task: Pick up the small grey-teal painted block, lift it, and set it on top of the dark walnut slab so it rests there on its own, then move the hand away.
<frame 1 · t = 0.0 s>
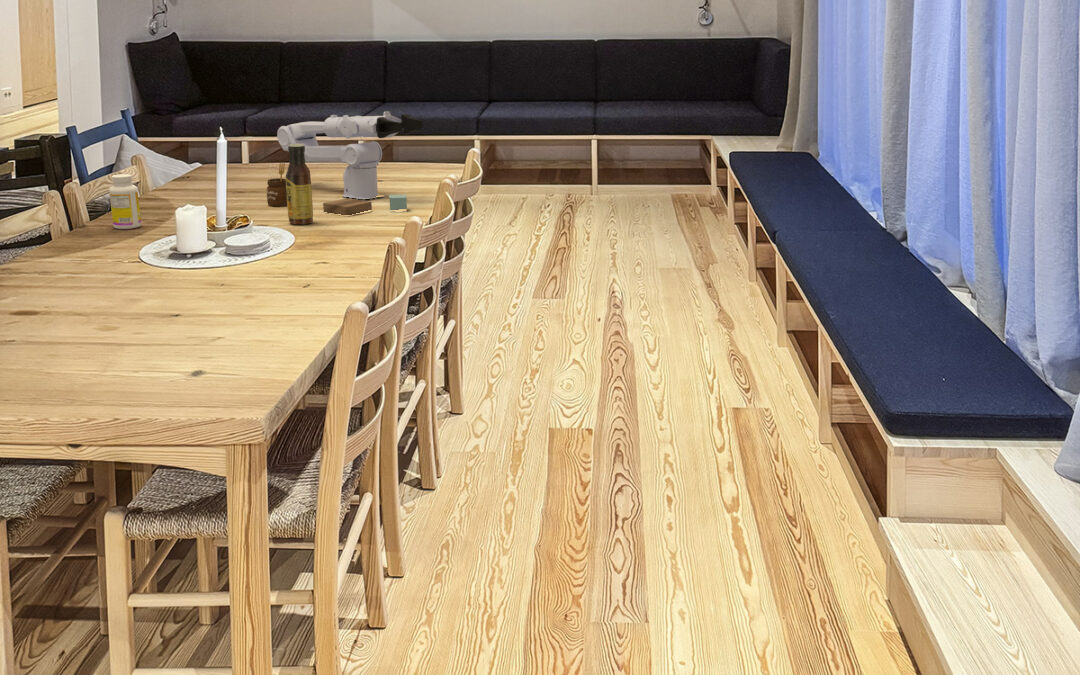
hand: (411, 125, 300), 22 cm above the table, tool horizontal, fingers open, 7 cm apart
teal block: (398, 211, 299), on the table
supplement bottle: (127, 227, 276), on the table
sauce bottle: (301, 224, 282), on the table
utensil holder: (278, 205, 305), on the table
walnut slab: (347, 213, 296), on the table
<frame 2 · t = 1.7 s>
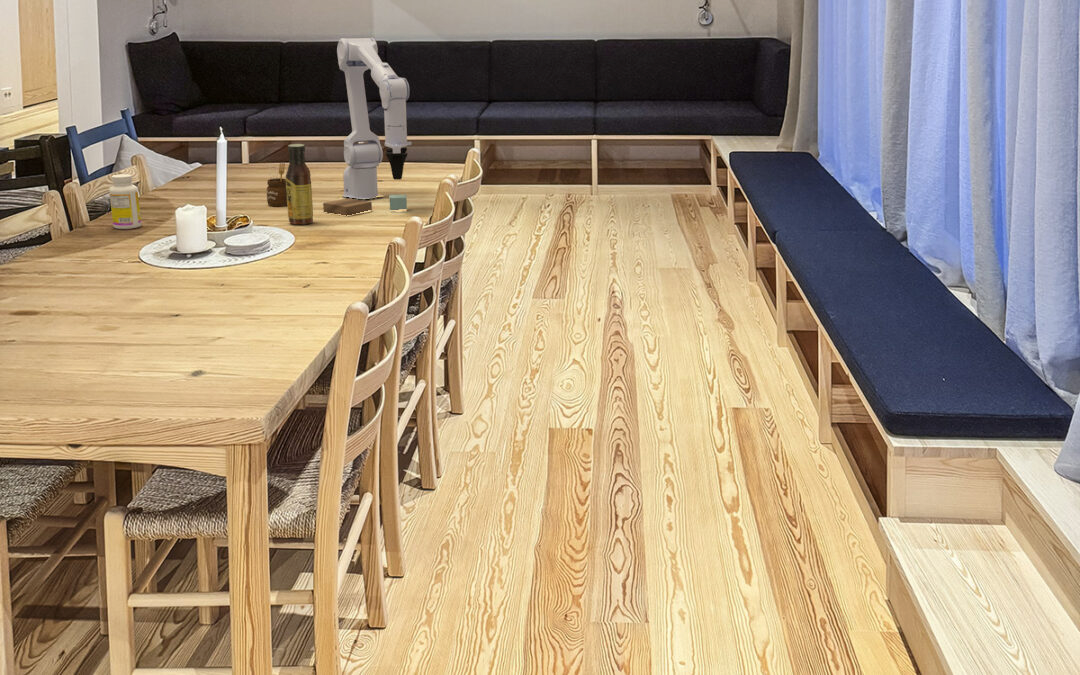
hand: (397, 177, 296), 9 cm above the table, tool pointing down, fingers open, 7 cm apart
nothing on the table moved.
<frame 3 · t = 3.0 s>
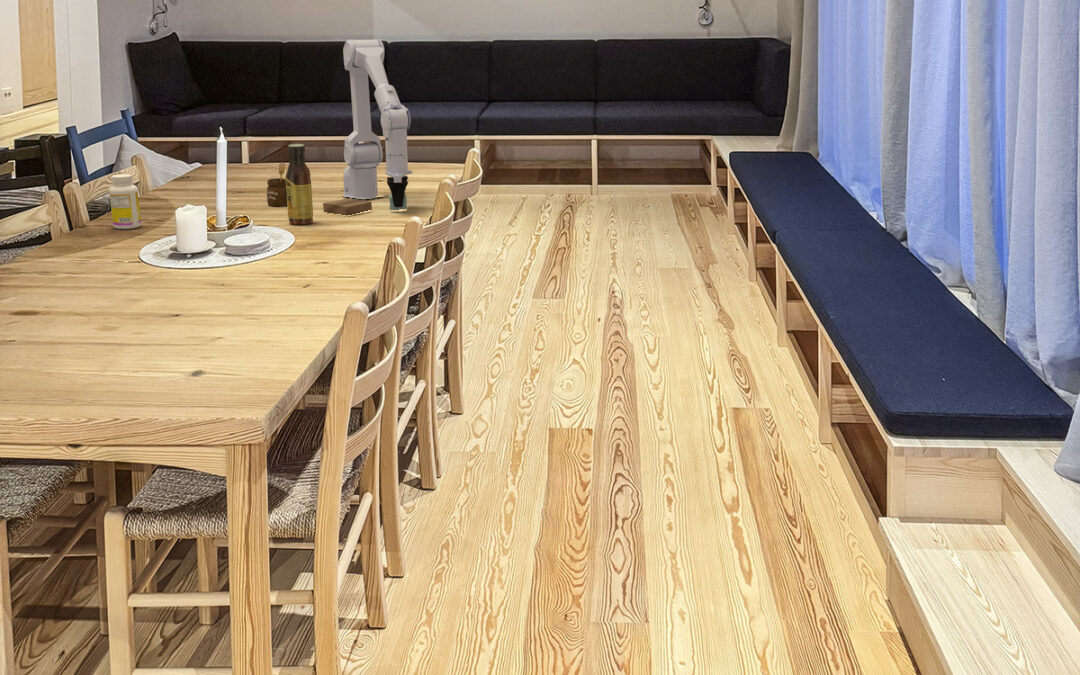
hand: (398, 205, 298), 1 cm above the table, tool pointing down, fingers closed on teal block, 4 cm apart
teal block: (398, 210, 299), on the table, touching gripper
everything else where it was.
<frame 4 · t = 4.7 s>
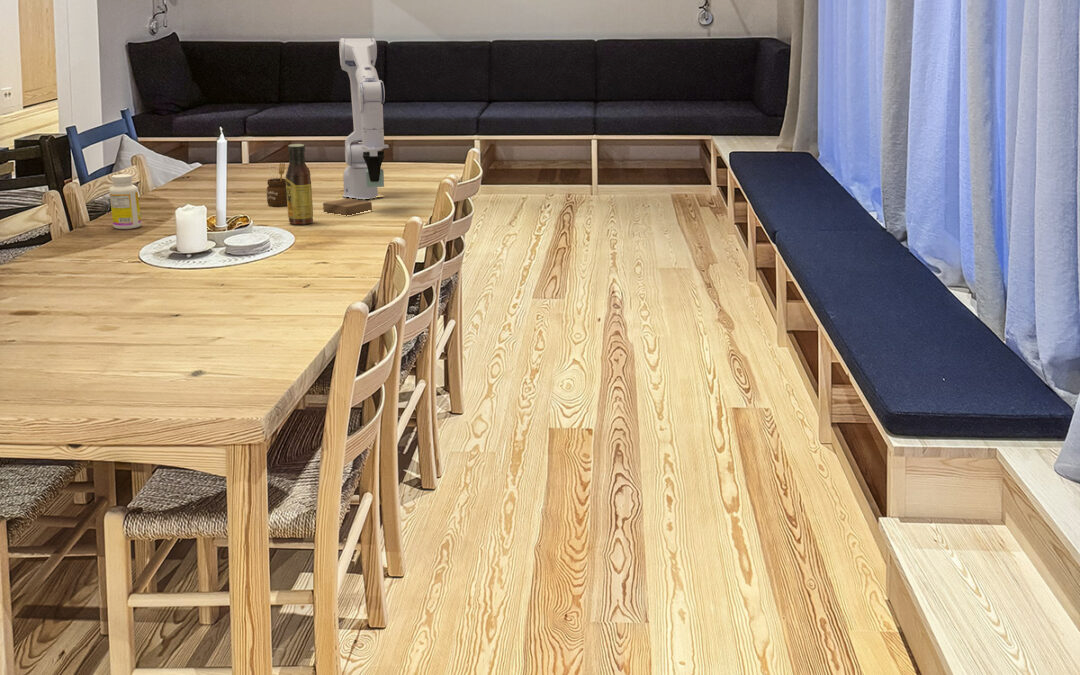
hand: (374, 180, 295), 8 cm above the table, tool pointing down, fingers closed on teal block, 4 cm apart
teal block: (375, 185, 296), point 7 cm above the table, touching gripper
everything else where it was.
when the fingers open (5 cm above the table, at t = 6.3 s): teal block drops 1 cm, resting on walnut slab.
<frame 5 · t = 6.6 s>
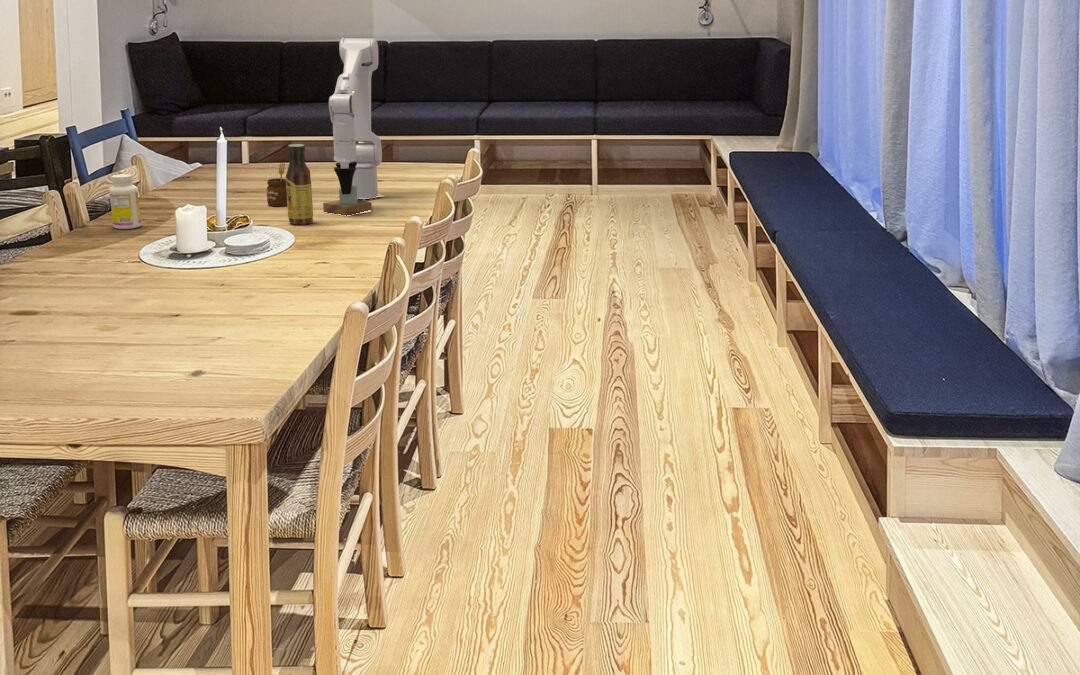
hand: (346, 191, 295), 5 cm above the table, tool pointing down, fingers open, 7 cm apart
teal block: (348, 202, 296), point 3 cm above the table, touching walnut slab
walnut slab: (347, 213, 297), on the table, touching teal block
everything else where it was.
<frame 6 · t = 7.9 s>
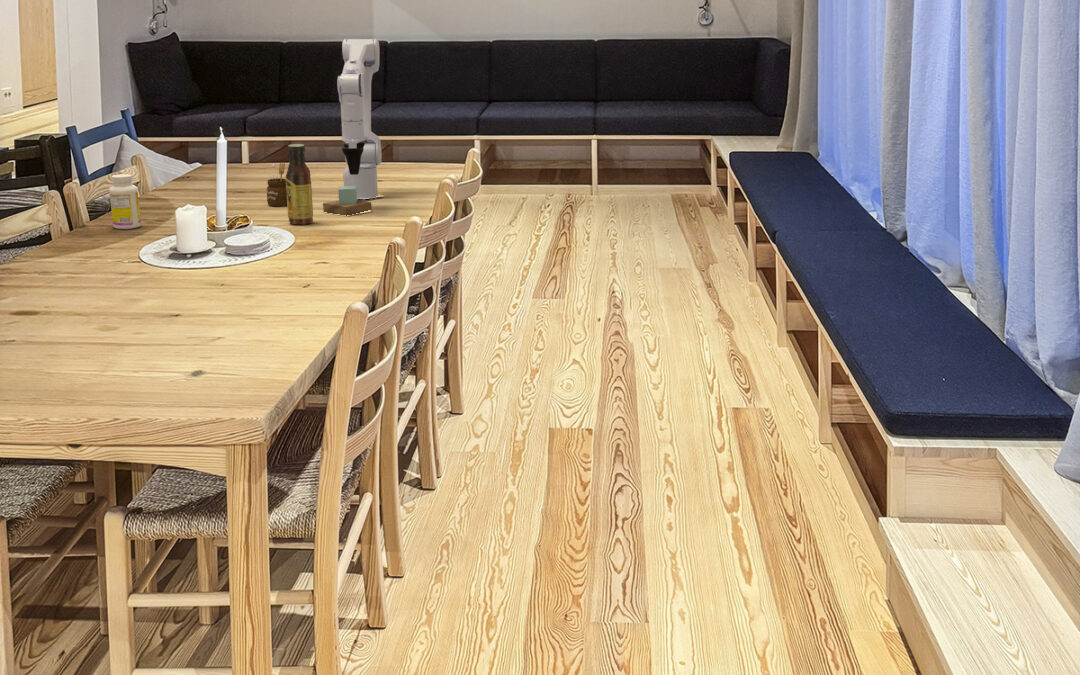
hand: (354, 172, 296), 10 cm above the table, tool pointing down, fingers open, 7 cm apart
nothing on the table moved.
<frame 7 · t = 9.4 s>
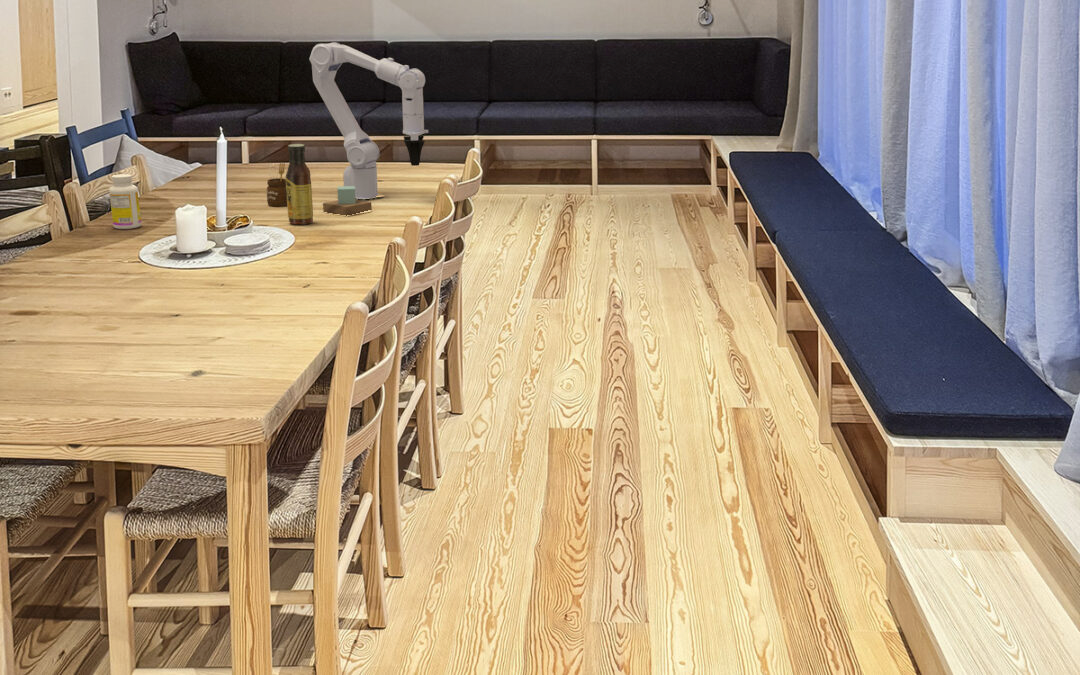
hand: (414, 163, 310), 10 cm above the table, tool pointing down, fingers open, 7 cm apart
teal block: (346, 202, 296), point 3 cm above the table
walnut slab: (347, 213, 297), on the table
everything else where it was.
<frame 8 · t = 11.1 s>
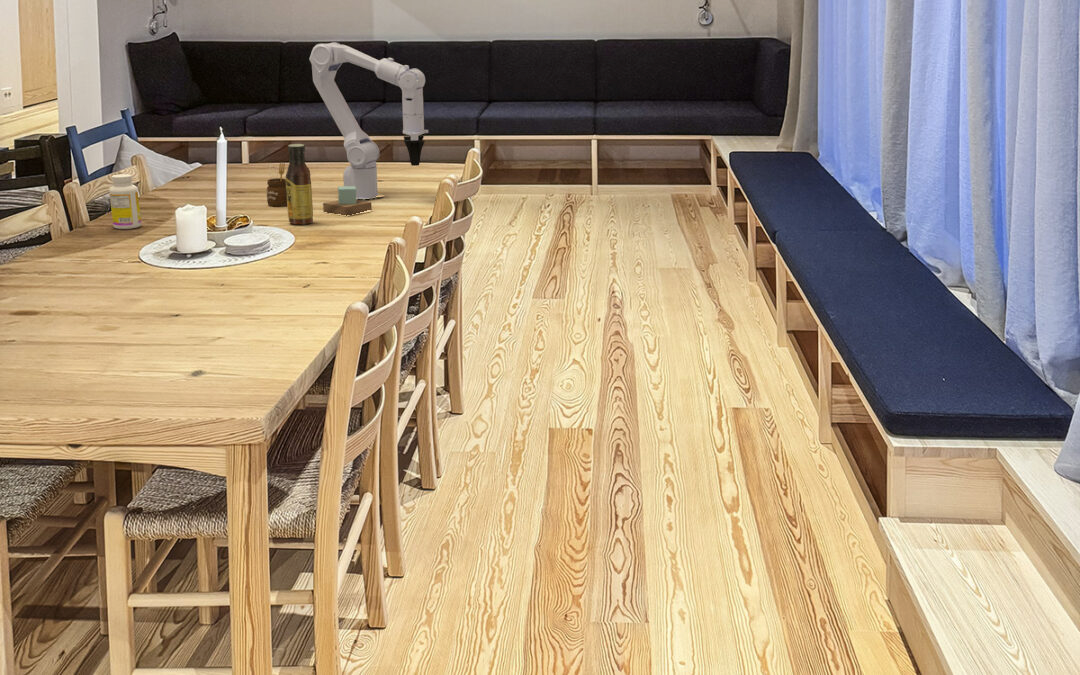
hand: (414, 163, 310), 10 cm above the table, tool pointing down, fingers open, 7 cm apart
nothing on the table moved.
at the end: teal block 0.2 cm off-centre on the walnut slab, point 3.0 cm above the walnut slab's base; teal block touching nothing; teal block tilted 1° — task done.
